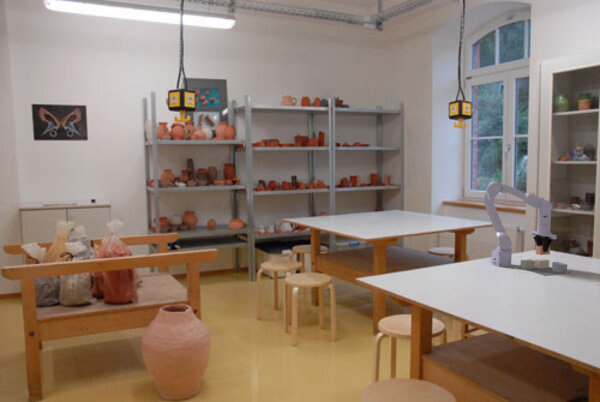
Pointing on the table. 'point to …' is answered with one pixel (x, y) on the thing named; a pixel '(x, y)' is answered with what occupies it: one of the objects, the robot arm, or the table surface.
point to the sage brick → (527, 264)
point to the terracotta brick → (541, 250)
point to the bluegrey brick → (559, 267)
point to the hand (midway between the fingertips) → (542, 251)
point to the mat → (545, 271)
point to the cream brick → (541, 263)
